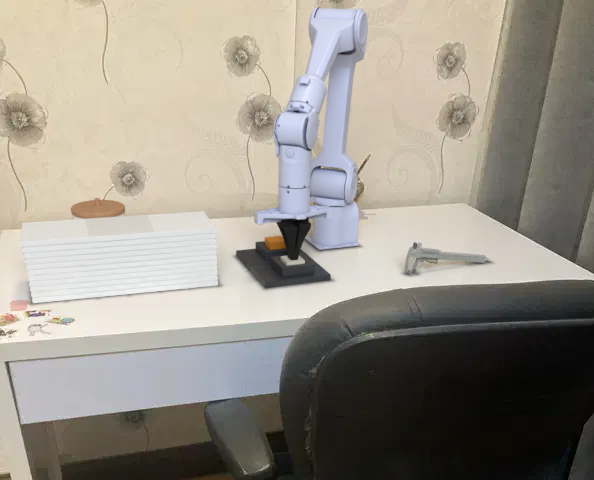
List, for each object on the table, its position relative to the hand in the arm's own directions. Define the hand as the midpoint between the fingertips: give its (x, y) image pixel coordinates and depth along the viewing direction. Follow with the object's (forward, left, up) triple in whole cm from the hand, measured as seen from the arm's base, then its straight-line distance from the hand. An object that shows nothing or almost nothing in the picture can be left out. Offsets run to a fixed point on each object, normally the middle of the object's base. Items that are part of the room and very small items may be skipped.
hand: (292, 258), depth 124 cm
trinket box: (+31, -30, -4) cm, 43 cm away
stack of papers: (+30, -6, -4) cm, 31 cm away
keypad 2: (0, 0, -3) cm, 3 cm away
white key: (0, 0, -2) cm, 2 cm away
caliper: (-32, +5, -4) cm, 32 cm away
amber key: (0, -9, -1) cm, 9 cm away
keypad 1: (0, -9, -3) cm, 10 cm away
